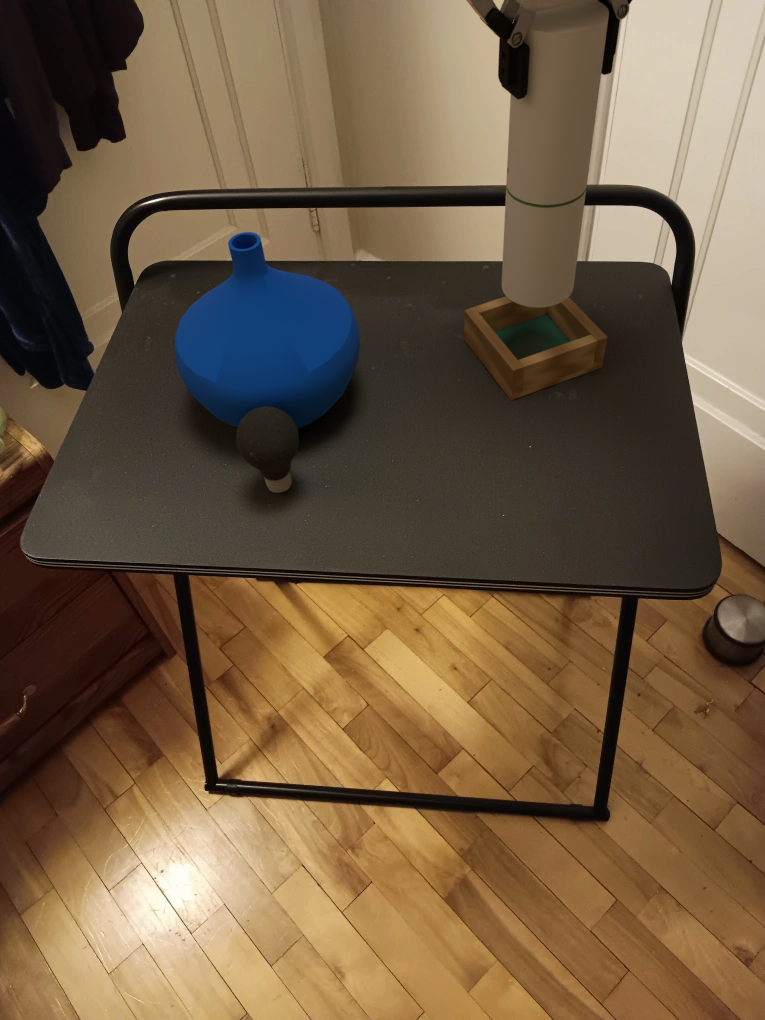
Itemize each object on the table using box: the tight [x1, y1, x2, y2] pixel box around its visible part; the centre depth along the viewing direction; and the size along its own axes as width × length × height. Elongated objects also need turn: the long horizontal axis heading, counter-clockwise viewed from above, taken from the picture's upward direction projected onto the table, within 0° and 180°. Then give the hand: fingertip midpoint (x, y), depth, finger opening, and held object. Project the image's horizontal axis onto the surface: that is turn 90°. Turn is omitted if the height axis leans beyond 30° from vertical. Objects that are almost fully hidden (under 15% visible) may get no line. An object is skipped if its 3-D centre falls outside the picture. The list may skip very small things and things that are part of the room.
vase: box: [173, 231, 361, 430], centre depth 81 cm, size 18×18×19 cm
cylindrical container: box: [501, 0, 609, 308], centre depth 73 cm, size 7×7×25 cm
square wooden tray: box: [463, 295, 608, 401], centre depth 88 cm, size 11×11×4 cm
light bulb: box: [235, 406, 300, 494], centre depth 76 cm, size 6×6×10 cm
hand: (555, 78), depth 67 cm, fingers closed on cylindrical container, 7 cm apart
